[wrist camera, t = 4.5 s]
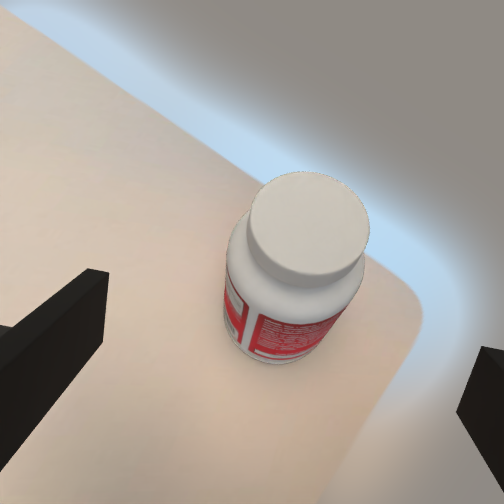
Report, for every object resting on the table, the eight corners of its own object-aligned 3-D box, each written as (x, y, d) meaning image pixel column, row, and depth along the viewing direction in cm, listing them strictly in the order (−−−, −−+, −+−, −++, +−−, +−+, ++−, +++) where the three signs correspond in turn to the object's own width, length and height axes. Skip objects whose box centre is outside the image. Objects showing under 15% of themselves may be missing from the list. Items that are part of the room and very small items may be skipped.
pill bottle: (344, 311, 27) (419, 215, 17) (282, 389, 25) (330, 329, 15) (266, 250, 29) (295, 131, 19) (200, 318, 26) (195, 222, 16)
